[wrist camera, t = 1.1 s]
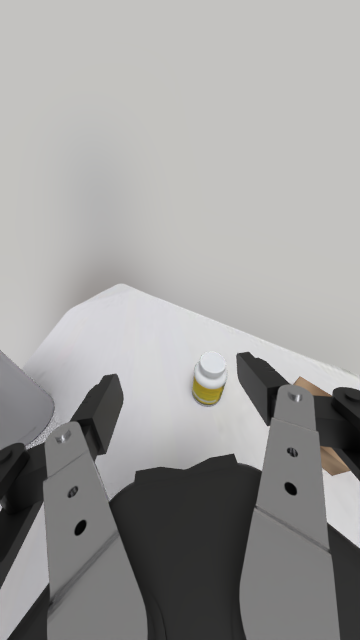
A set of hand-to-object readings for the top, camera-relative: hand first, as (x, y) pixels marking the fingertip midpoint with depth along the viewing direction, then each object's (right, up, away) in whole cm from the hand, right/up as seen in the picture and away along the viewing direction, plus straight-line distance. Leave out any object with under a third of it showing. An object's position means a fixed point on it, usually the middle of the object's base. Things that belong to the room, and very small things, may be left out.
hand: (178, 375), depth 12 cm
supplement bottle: (+5, -10, +21) cm, 24 cm away
